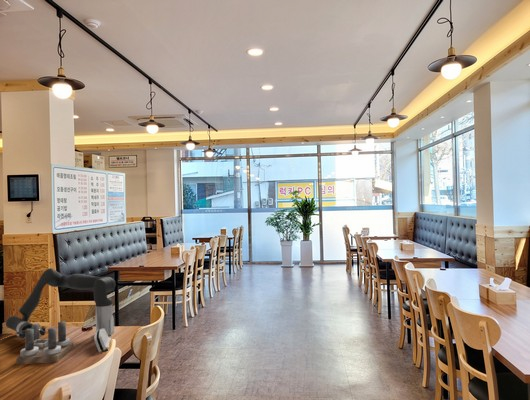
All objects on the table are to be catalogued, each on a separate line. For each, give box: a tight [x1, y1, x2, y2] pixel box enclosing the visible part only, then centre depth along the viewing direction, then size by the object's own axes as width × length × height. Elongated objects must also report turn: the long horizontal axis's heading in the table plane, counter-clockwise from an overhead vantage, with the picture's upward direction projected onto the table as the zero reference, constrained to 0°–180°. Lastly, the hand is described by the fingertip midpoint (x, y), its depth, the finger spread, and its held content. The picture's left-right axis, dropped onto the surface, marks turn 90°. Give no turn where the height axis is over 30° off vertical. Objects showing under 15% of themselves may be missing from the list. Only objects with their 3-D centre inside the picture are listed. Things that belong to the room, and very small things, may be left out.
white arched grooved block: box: [93, 328, 112, 353], centre depth 205 cm, size 17×5×10 cm, turn 17°
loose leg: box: [32, 323, 41, 341], centre depth 207 cm, size 4×4×12 cm
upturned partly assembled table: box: [15, 320, 74, 365], centre depth 194 cm, size 19×19×15 cm
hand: (37, 334), depth 205 cm, fingers open, 5 cm apart
